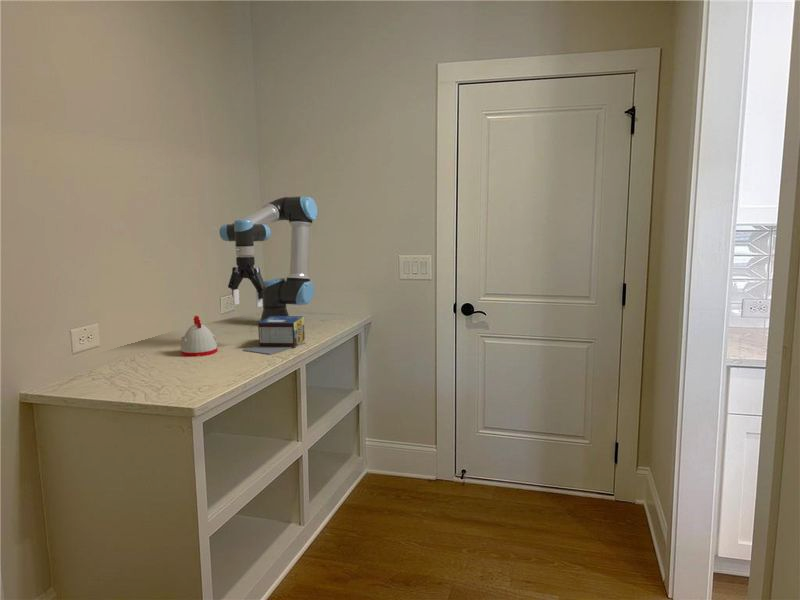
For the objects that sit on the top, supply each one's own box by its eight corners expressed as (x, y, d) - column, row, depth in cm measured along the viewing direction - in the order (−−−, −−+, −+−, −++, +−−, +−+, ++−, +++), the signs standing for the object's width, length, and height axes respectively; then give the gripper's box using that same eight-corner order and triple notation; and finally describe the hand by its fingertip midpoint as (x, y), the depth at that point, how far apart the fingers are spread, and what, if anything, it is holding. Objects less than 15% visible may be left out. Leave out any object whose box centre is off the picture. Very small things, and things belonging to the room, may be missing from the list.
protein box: (271, 338, 240) (305, 339, 239) (258, 346, 225) (295, 347, 224) (270, 315, 239) (304, 315, 237) (257, 322, 223) (294, 322, 222)
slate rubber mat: (279, 339, 240) (279, 339, 239) (306, 343, 232) (306, 342, 232) (242, 350, 221) (242, 349, 221) (270, 354, 213) (270, 353, 213)
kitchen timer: (212, 346, 228) (210, 312, 226) (221, 353, 217) (219, 316, 215) (177, 351, 221) (175, 315, 218) (185, 358, 209) (183, 320, 207)
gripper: (217, 256, 232) (220, 304, 235) (260, 257, 220) (263, 308, 223) (231, 255, 239) (233, 302, 242) (273, 256, 226) (275, 306, 229)
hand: (247, 305), depth 232 cm, fingers open, 13 cm apart
